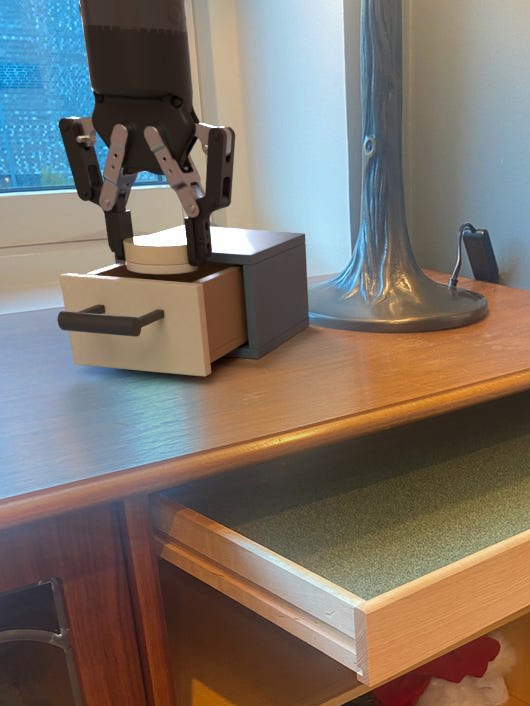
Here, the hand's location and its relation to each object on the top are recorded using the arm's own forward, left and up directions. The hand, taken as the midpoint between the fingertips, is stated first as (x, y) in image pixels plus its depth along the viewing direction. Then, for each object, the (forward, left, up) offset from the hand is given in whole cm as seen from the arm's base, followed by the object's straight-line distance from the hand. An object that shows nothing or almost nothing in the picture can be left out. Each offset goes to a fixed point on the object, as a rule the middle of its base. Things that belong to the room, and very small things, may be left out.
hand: (161, 261), depth 80 cm
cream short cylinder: (0, 0, -1) cm, 1 cm away
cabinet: (0, +11, -9) cm, 14 cm away
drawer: (0, -2, -8) cm, 8 cm away
